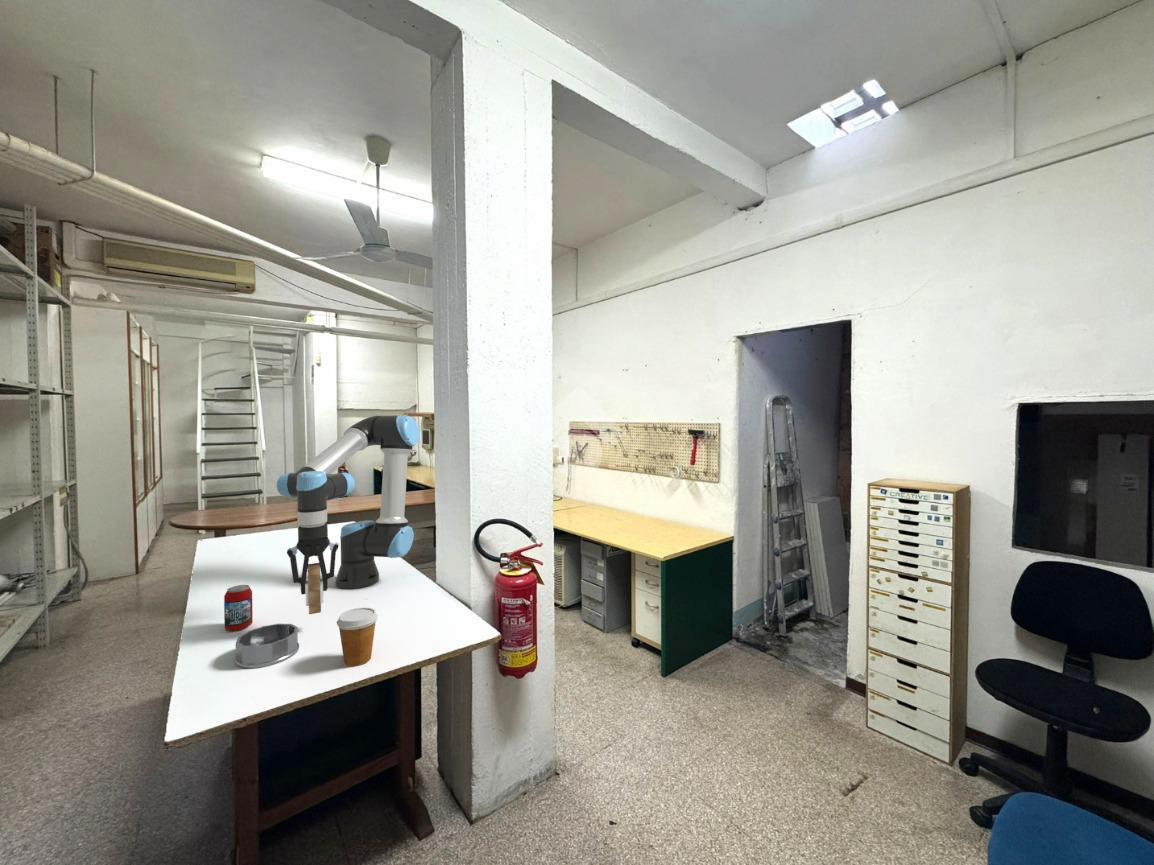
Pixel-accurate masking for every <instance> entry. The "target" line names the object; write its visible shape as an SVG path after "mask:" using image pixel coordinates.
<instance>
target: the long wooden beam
mask: <svg viewBox="0 0 1154 865" xmlns="http://www.w3.org/2000/svg"><path fill="white" fill-rule="evenodd" d="M320 579H321V569H320V564H319V562H314V563H313V562H312V563H308V569H307V581H308V598H309V606H308V615H314V614H318V613H319V614H320V613H322V604H321V601H320Z"/></svg>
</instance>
